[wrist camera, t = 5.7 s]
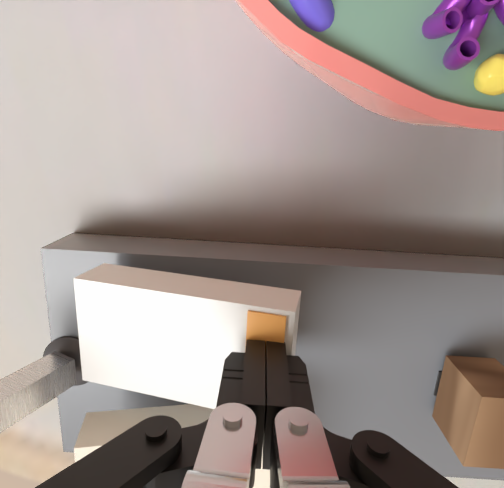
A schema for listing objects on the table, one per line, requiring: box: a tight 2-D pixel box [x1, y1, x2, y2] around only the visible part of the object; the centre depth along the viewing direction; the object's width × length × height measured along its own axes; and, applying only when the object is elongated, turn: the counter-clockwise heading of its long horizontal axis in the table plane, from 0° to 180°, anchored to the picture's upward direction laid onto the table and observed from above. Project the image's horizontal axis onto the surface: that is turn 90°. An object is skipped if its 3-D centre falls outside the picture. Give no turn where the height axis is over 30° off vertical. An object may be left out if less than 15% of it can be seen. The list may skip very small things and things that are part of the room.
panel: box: [41, 233, 504, 480], centre depth 20 cm, size 28×12×3 cm, turn 87°
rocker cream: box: [74, 404, 270, 488], centre depth 17 cm, size 9×5×2 cm, turn 87°
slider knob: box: [432, 355, 504, 469], centre depth 17 cm, size 2×4×3 cm, turn 177°
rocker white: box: [73, 263, 301, 409], centre depth 15 cm, size 9×5×2 cm, turn 87°
